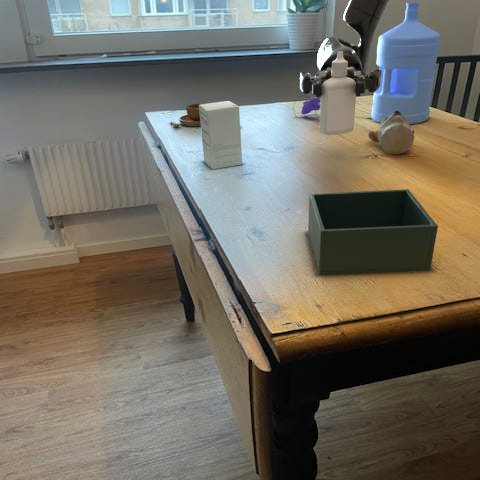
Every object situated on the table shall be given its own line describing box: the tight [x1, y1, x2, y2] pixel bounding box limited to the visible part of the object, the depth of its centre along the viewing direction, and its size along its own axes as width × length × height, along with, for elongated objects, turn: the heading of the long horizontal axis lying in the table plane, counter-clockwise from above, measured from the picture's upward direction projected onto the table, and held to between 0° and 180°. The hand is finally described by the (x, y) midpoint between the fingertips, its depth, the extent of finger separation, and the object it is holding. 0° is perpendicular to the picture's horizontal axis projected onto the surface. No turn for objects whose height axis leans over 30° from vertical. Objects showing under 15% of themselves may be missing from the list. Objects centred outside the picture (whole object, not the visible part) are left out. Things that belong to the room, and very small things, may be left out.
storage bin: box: [307, 188, 439, 276], centre depth 73 cm, size 15×14×7 cm
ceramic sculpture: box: [368, 111, 415, 156], centre depth 116 cm, size 11×9×15 cm
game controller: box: [292, 94, 321, 122], centre depth 147 cm, size 10×8×10 cm
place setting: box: [170, 103, 202, 128], centre depth 147 cm, size 18×20×6 cm
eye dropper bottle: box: [319, 51, 357, 136], centre depth 81 cm, size 4×6×12 cm
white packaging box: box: [199, 100, 243, 170], centre depth 112 cm, size 7×7×13 cm
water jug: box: [370, 1, 441, 126], centre depth 134 cm, size 16×16×28 cm
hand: (338, 89), depth 78 cm, fingers closed on eye dropper bottle, 5 cm apart
